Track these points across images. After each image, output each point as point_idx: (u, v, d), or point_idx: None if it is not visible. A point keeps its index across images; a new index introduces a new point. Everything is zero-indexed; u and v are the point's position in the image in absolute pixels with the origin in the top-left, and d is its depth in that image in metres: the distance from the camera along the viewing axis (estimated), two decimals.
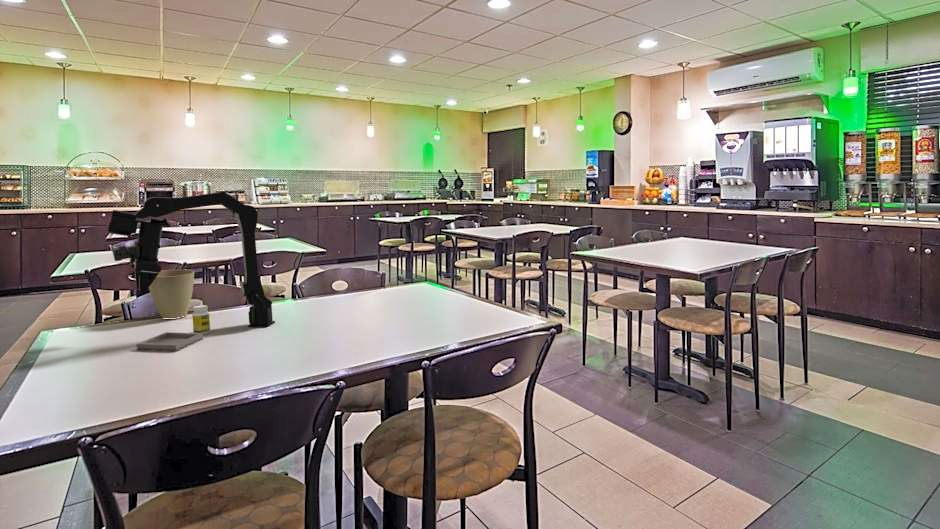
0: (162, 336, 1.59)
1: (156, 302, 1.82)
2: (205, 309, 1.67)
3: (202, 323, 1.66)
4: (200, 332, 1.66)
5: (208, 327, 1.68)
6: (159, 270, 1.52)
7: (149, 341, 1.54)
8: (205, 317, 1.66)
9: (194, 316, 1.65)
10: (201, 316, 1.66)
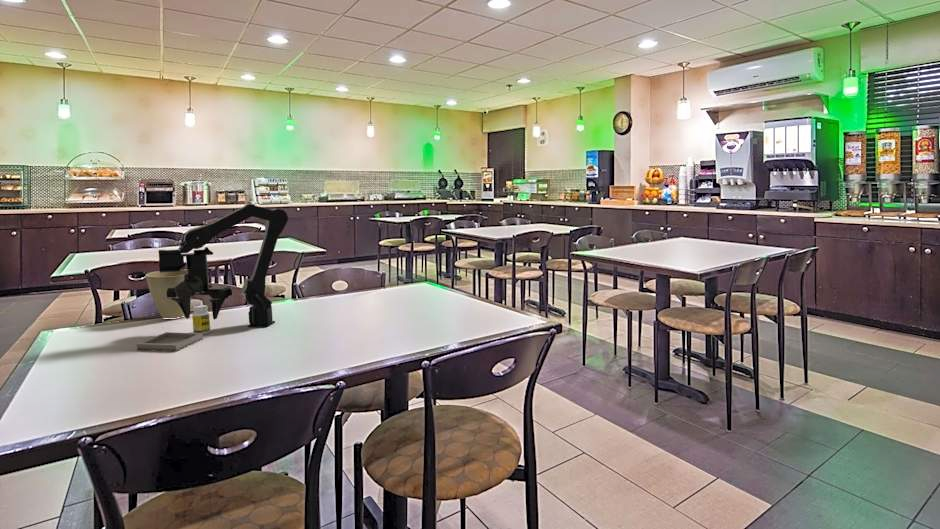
0: (162, 336, 1.59)
1: (156, 302, 1.82)
2: (205, 309, 1.67)
3: (202, 323, 1.66)
4: (200, 332, 1.66)
5: (208, 327, 1.68)
6: (231, 292, 1.68)
7: (149, 341, 1.54)
8: (205, 317, 1.66)
9: (194, 316, 1.65)
10: (201, 316, 1.66)
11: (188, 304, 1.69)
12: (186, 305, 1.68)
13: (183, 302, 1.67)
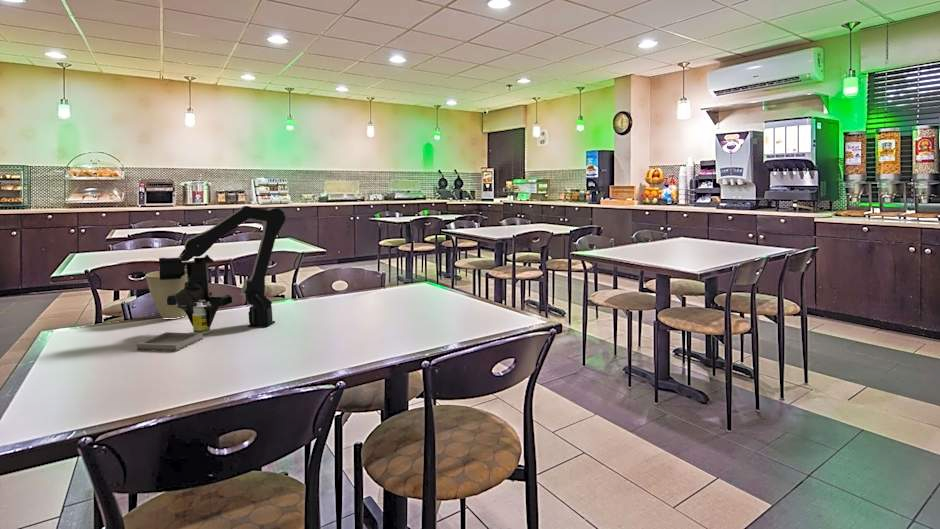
0: (162, 336, 1.59)
1: (156, 302, 1.82)
2: None
3: (202, 322, 1.66)
4: (200, 332, 1.66)
5: (208, 327, 1.68)
6: (231, 300, 1.68)
7: (149, 341, 1.54)
8: (205, 317, 1.66)
9: (194, 316, 1.65)
10: (201, 316, 1.66)
11: None
12: (192, 313, 1.68)
13: (189, 310, 1.67)
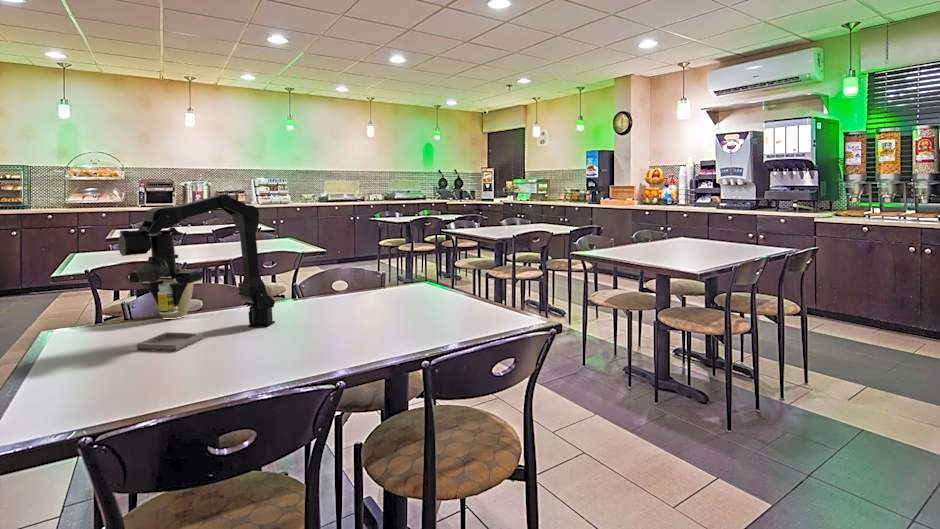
0: (162, 336, 1.59)
1: (156, 302, 1.82)
2: None
3: (168, 301, 1.52)
4: (166, 312, 1.52)
5: (175, 307, 1.54)
6: None
7: (149, 341, 1.54)
8: (171, 296, 1.52)
9: (159, 294, 1.52)
10: (166, 294, 1.52)
11: None
12: (158, 291, 1.54)
13: (154, 288, 1.53)
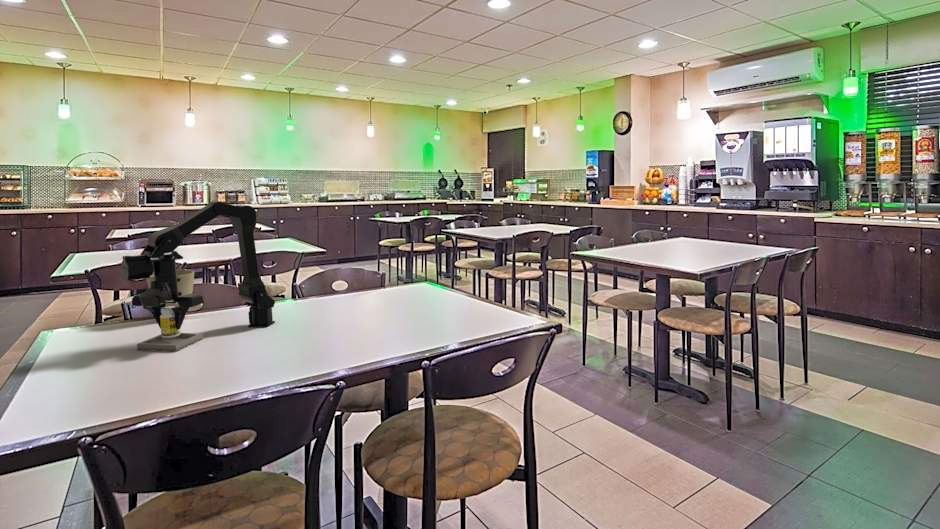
0: None
1: None
2: None
3: (171, 325, 1.53)
4: (168, 335, 1.53)
5: (177, 330, 1.55)
6: (202, 300, 1.56)
7: (149, 341, 1.54)
8: (173, 319, 1.53)
9: (162, 318, 1.53)
10: (169, 318, 1.53)
11: None
12: (160, 314, 1.55)
13: (157, 311, 1.54)
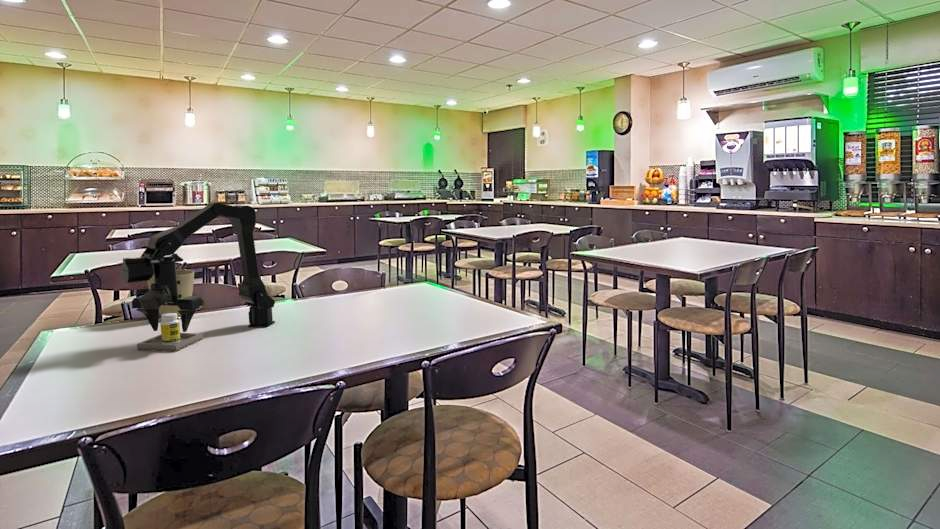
0: None
1: None
2: (174, 317, 1.54)
3: (171, 332, 1.53)
4: (169, 342, 1.53)
5: (178, 336, 1.55)
6: (202, 303, 1.56)
7: (149, 341, 1.54)
8: (174, 326, 1.54)
9: (162, 325, 1.53)
10: (169, 325, 1.53)
11: (156, 315, 1.56)
12: (154, 316, 1.55)
13: (150, 313, 1.54)
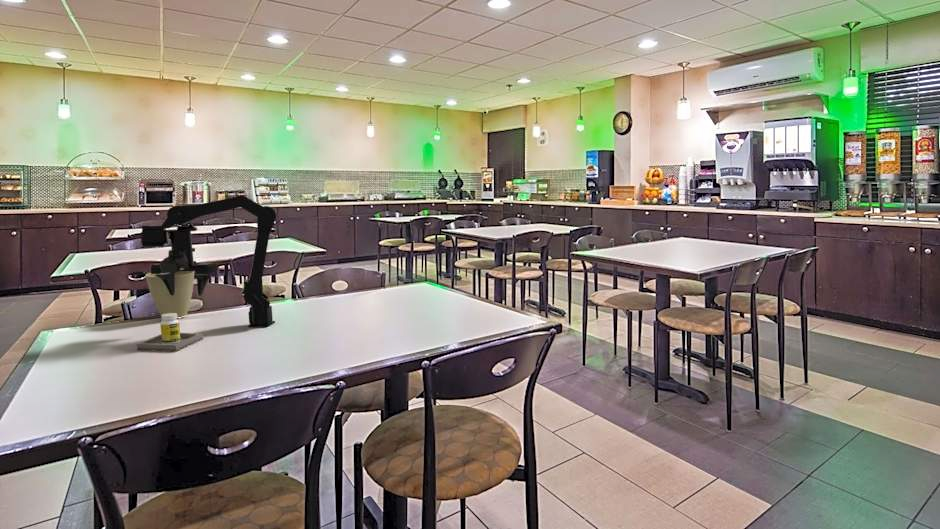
0: None
1: (156, 302, 1.82)
2: (174, 317, 1.54)
3: (171, 332, 1.53)
4: (169, 342, 1.53)
5: (178, 336, 1.55)
6: None
7: (149, 341, 1.54)
8: (174, 326, 1.54)
9: (162, 325, 1.53)
10: (169, 325, 1.53)
11: (172, 281, 1.69)
12: (170, 282, 1.68)
13: (167, 279, 1.66)
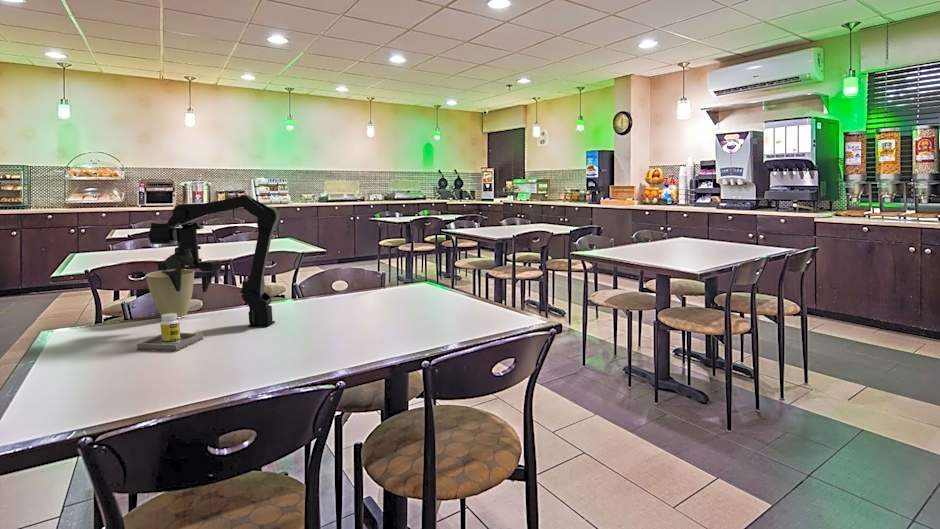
0: None
1: (156, 302, 1.82)
2: (174, 317, 1.54)
3: (171, 332, 1.53)
4: (169, 342, 1.53)
5: (178, 336, 1.55)
6: None
7: (149, 341, 1.54)
8: (174, 326, 1.54)
9: (162, 325, 1.53)
10: (169, 325, 1.53)
11: (179, 277, 1.73)
12: (177, 278, 1.72)
13: (174, 275, 1.71)
